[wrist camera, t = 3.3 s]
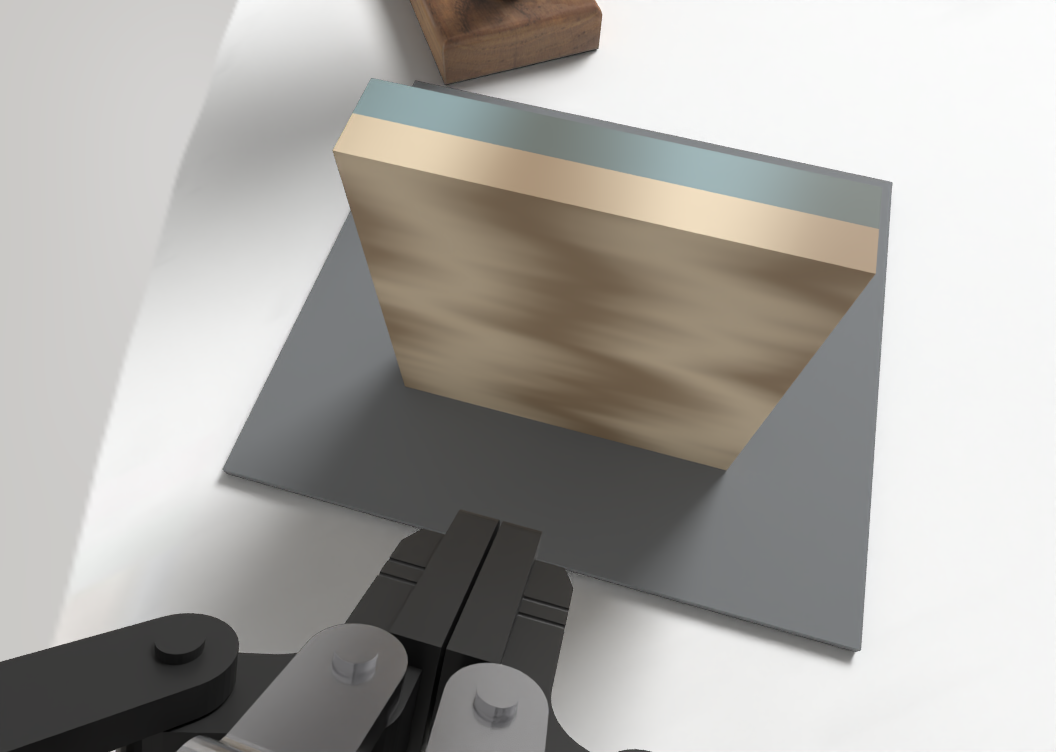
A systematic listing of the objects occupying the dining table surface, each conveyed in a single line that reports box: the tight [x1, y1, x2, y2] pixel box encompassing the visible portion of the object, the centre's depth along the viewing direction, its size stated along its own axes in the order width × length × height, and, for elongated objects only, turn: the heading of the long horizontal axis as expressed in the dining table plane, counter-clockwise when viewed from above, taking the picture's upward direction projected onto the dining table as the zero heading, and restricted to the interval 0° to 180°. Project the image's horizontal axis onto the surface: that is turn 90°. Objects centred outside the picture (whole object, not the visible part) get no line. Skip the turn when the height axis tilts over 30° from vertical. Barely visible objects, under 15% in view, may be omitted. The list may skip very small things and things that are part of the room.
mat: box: [223, 81, 892, 652], centre depth 29 cm, size 22×20×1 cm
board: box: [333, 78, 882, 470], centre depth 22 cm, size 12×2×12 cm, turn 74°
